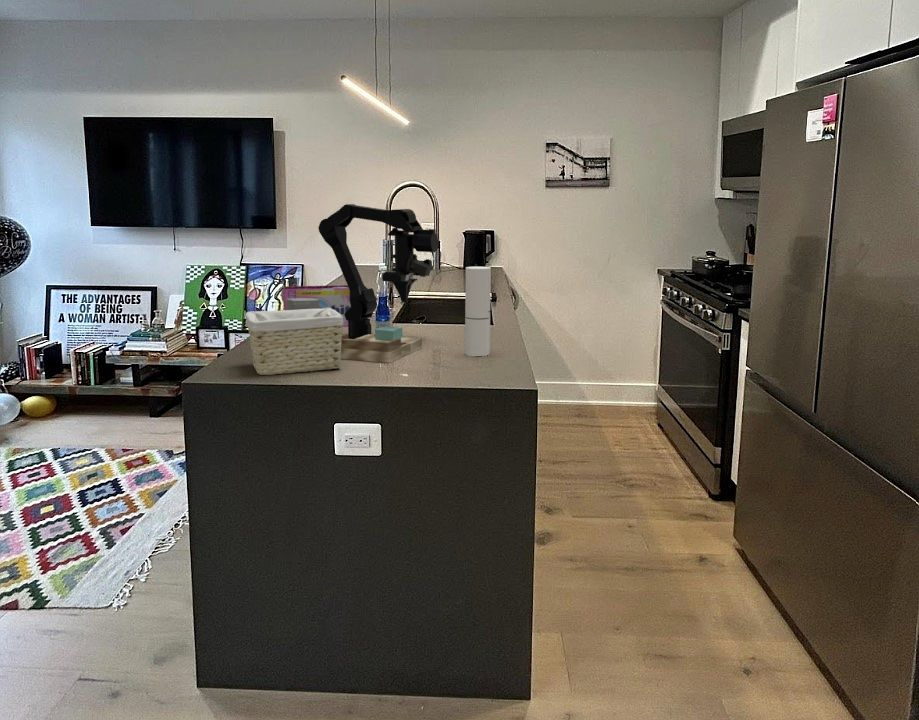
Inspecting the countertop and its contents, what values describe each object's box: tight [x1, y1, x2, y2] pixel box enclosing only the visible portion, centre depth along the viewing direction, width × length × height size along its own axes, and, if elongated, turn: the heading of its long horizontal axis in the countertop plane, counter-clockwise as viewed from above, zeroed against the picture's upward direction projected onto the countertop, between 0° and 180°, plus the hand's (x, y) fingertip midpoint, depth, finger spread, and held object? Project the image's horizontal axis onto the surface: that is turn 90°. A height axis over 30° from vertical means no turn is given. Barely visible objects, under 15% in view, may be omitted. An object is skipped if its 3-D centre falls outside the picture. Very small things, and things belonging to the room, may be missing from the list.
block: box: [374, 326, 403, 341], centre depth 243 cm, size 6×6×3 cm
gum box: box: [280, 284, 351, 328], centre depth 280 cm, size 24×8×14 cm, turn 103°
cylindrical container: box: [464, 266, 492, 357], centre depth 234 cm, size 7×7×25 cm
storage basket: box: [245, 308, 343, 376], centre depth 217 cm, size 24×16×15 cm
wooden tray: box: [341, 333, 423, 364], centre depth 237 cm, size 18×22×6 cm
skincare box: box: [286, 298, 319, 310], centre depth 236 cm, size 8×7×16 cm
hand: (404, 302), depth 251 cm, fingers closed
